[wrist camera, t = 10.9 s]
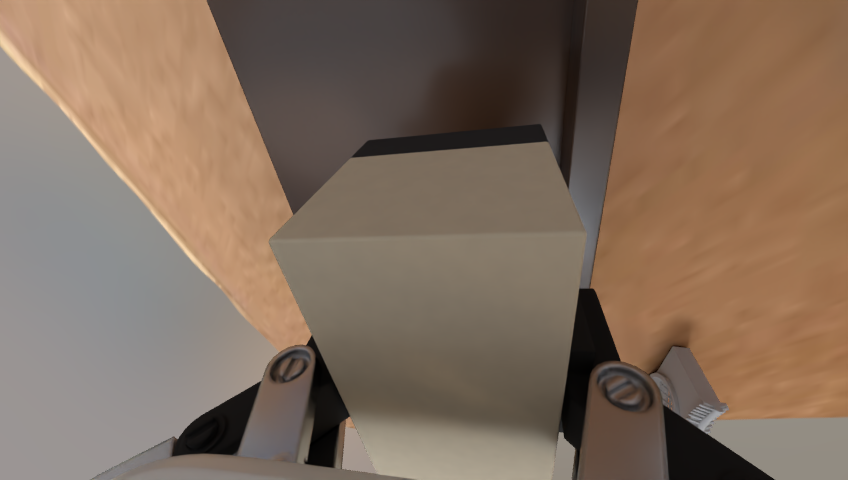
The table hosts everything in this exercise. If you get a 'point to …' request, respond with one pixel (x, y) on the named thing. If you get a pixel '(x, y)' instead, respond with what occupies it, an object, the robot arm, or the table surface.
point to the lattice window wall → (688, 389)
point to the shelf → (432, 80)
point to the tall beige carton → (444, 299)
